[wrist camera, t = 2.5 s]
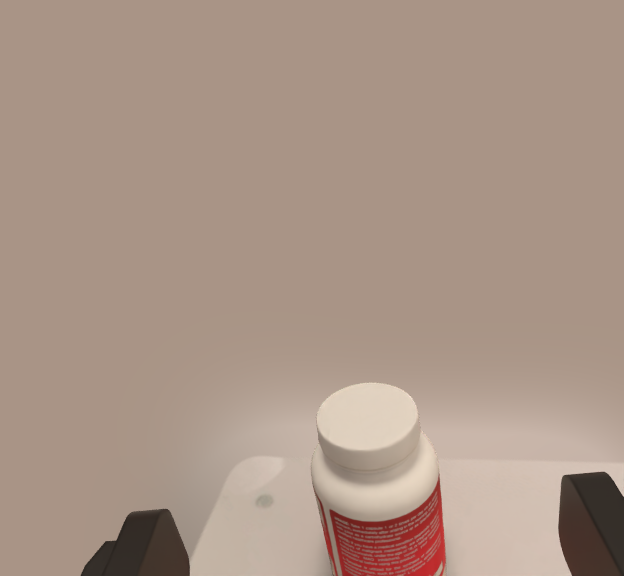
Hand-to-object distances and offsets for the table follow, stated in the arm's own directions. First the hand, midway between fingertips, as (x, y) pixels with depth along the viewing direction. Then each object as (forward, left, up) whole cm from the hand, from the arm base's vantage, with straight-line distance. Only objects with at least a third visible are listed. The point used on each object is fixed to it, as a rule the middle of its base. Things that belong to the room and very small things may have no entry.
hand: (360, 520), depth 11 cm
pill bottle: (+10, +6, -18) cm, 21 cm away
